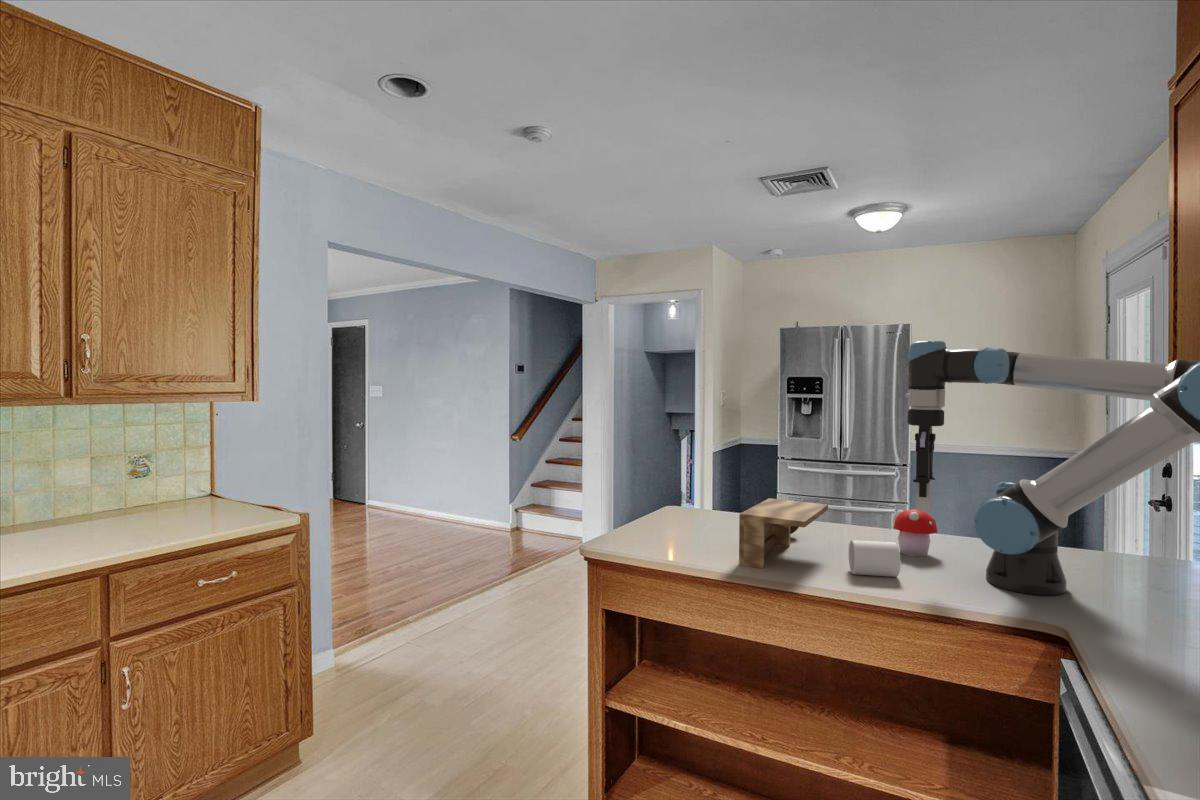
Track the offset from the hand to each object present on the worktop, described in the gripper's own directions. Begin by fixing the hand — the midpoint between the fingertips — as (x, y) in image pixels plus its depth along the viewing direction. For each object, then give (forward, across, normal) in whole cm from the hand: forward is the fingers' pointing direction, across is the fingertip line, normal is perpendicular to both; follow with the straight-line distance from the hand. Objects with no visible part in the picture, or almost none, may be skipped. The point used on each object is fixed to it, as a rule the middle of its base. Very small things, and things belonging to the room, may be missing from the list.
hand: (923, 508), depth 145 cm
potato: (+17, -22, -39) cm, 48 cm away
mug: (+17, 0, -11) cm, 20 cm away
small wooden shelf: (+17, 0, -32) cm, 36 cm away
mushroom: (+17, -24, -4) cm, 30 cm away
